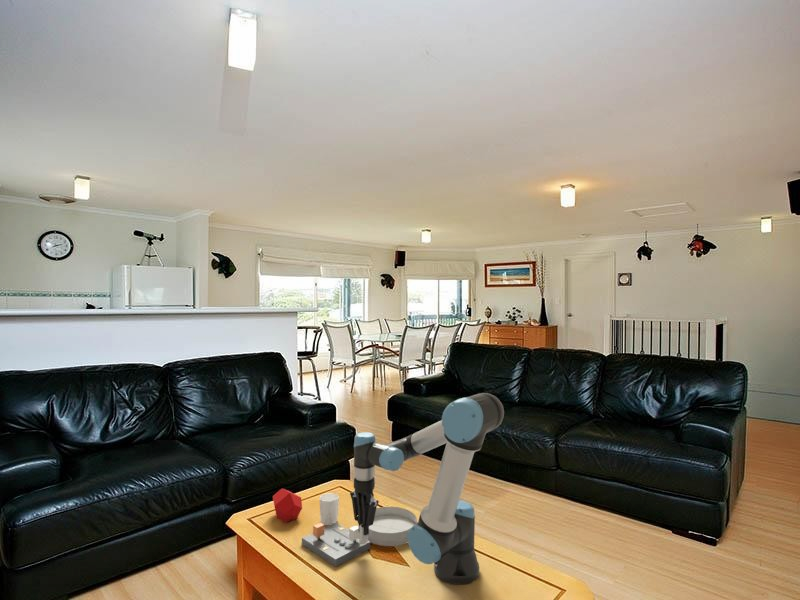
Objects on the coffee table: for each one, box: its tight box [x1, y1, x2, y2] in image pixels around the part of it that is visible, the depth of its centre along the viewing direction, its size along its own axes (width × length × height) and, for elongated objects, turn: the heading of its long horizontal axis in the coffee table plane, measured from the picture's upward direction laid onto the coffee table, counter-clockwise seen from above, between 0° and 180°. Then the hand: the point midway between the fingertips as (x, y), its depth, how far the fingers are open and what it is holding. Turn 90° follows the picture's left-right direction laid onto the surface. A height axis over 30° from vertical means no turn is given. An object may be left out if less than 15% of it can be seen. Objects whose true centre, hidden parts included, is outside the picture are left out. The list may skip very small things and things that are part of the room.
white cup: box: [319, 492, 340, 526], centre depth 190 cm, size 8×8×10 cm
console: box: [301, 522, 371, 567], centre depth 171 cm, size 20×16×3 cm
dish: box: [368, 506, 418, 547], centre depth 182 cm, size 22×22×5 cm
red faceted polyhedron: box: [272, 488, 303, 523], centre depth 193 cm, size 12×12×15 cm
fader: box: [312, 522, 325, 539], centre depth 171 cm, size 2×3×5 cm
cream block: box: [348, 525, 359, 542], centre depth 169 cm, size 2×3×5 cm
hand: (363, 542), depth 166 cm, fingers closed
